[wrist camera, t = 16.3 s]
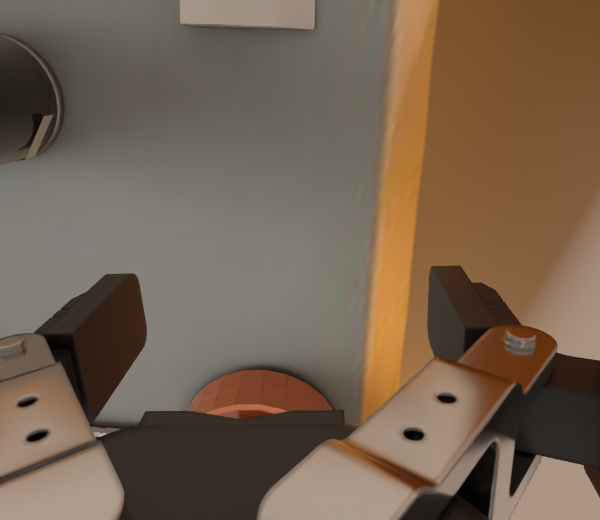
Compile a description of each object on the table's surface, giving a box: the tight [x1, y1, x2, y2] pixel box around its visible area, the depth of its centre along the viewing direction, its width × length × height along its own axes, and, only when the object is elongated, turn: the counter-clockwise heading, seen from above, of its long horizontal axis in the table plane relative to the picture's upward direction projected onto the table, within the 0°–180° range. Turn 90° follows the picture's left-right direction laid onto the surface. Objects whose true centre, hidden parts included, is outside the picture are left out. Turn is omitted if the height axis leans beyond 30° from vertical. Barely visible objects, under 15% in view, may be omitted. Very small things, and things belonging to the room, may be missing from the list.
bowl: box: [187, 370, 333, 419], centre depth 47 cm, size 15×15×6 cm
